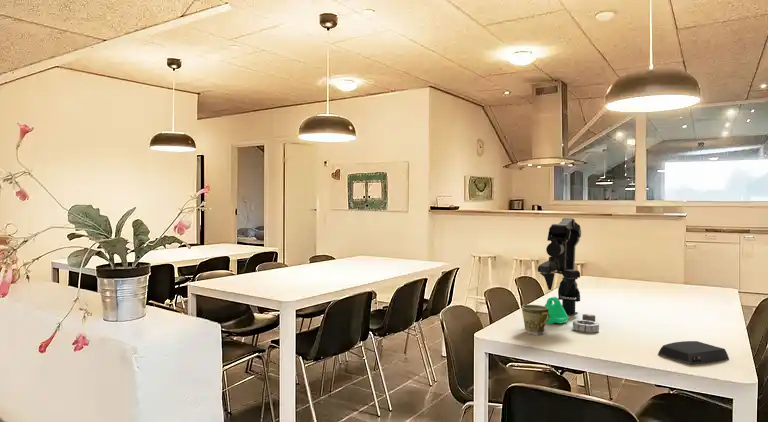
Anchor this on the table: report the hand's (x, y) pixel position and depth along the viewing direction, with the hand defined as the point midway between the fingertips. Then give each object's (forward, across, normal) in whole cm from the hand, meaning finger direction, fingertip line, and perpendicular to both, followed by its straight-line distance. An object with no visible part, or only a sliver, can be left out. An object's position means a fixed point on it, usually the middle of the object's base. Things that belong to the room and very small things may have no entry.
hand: (557, 291), depth 217 cm
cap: (+14, +6, +12) cm, 19 cm away
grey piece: (+13, +12, +4) cm, 18 cm away
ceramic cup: (+13, +10, -19) cm, 25 cm away
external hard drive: (+14, +52, +10) cm, 55 cm away
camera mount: (+14, -4, +1) cm, 15 cm away
